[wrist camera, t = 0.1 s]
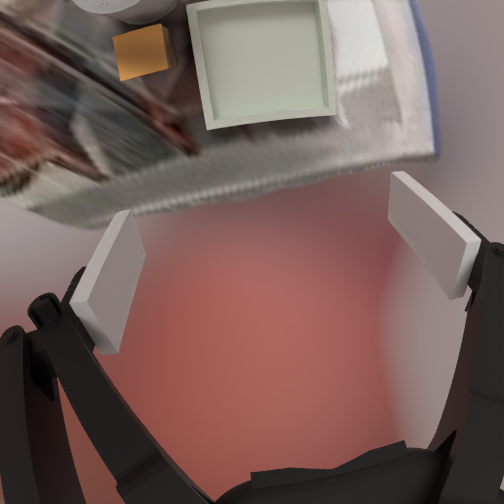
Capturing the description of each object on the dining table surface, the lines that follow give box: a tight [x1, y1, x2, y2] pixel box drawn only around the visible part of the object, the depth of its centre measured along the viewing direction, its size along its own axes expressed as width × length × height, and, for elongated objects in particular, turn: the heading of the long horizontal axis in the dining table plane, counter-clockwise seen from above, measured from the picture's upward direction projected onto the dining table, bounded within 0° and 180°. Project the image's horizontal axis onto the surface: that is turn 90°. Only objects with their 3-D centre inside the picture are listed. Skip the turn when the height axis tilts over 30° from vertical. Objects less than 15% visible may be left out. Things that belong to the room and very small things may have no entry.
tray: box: [186, 0, 337, 130], centre depth 33 cm, size 16×16×3 cm
